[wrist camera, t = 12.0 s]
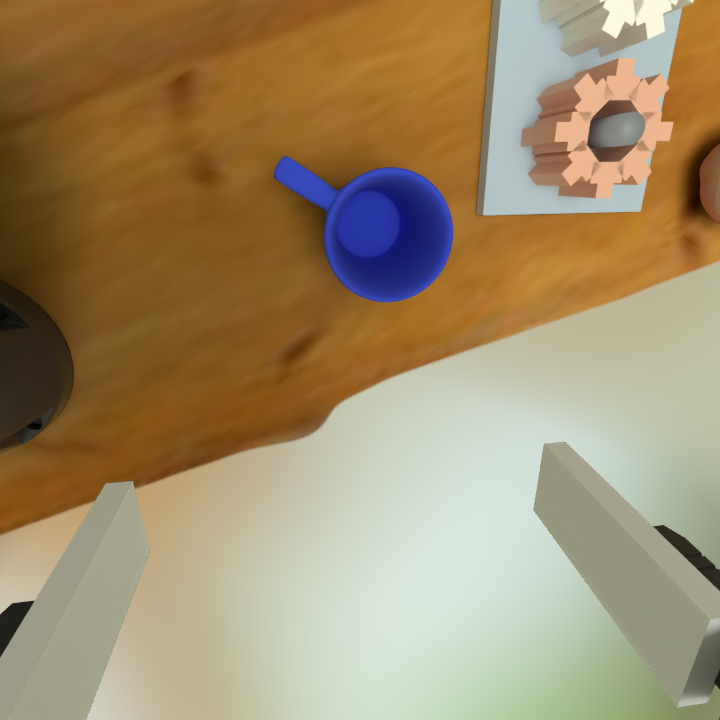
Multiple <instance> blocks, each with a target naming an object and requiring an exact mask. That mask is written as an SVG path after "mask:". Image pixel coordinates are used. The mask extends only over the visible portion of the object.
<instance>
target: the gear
mask: <svg viewBox="0 0 720 720" xmlns="http://www.w3.org/2000/svg"><path fill="white" fill-rule="evenodd" d="M693 1H694V0H545V1H543V2H542V3H540V4H539V10H540V15H541V20H542V24H543V23H545V22H548V21H550V20H552V19H554V18H555V19H556V24H557V27H559V26H561V25H562V27H561V29H560V31H561V32H562V33H564V34H566V36H565V39H564V41H563V43H562V45H561V47H560V49H559V50H561V51H562V52H564V53H566V54H568V55H569V56H571V57H575V56H577V55H579V54H582V53H584V52H586V51H589V50H591V49H593V48H596V47H598V50H599V56H600V58H601V57H603V56H606V55H609V54H611V53H614V52H616V51H619V50H621V49H624V48H627V47H629V46H632V45H634V44H637V43H640V42H642V41H645V40H647V39H649V38H652V37H654V36H656V35H658V34H660V33H662V32H664V31H665V27H664V19H663V16H664V15H666V14H668V13H671V12H673V11H675V10H677V9H680V8H682V7H684V6H687V5H689V4H691V3H693Z"/></svg>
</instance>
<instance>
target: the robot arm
mask: <svg viewBox="0 0 720 720" xmlns="http://www.w3.org/2000/svg"><path fill="white" fill-rule="evenodd" d="M72 382H73V367H72V361H71V356H70V353H69V350H68V347H67V345H66V342H65V340H64V338H63V336H62V335H61V333H60V331H59V330H58V328H57V327H56V325H55V324H54V323H53V321H52V320H51V319H50V318H49V317H48V315H47V314H46V313H45V312H44V311H43V310H42V309H41V308H40V307H39V306H38V305H36V304H35V303H34V302H33V301H32V300H30V299H29V298H28V297H26V296H25V295H24V294H22V293H21V292H19V291H17V290H16V289H14V288H12V287H11V286H9V285H7V284H5V283H3V282H0V454H1V453H3V452H6V451H8V450H11V449H14V448H16V447H18V446H21V445H23V444H24V443H26V442H28V441H30V440H31V439H33V438H34V437H36V436H37V435H38V434H40V433H41V432H42V431H43V430H44V429H45V428H46V427H47V426H48V425H49V424H50V423H51V422H52V421H53V420H54V419H55V418H56V417H57V416H58V415H59V413H60V412H61V411H62V409H63V408H64V406H65V404H66V403H67V400H68V398H69V395H70V392H71V388H72ZM534 511H535V513H536V514H537V516H538V517H539V518H540V520H541V521H542V522H543V524H544V525H545V527H546V528H547V529H548V531H549V532H550V533H551V535H552V536H553V538H554V539H555V540H556V542H557V543H558V544H559V546H560V547H561V548H562V550H563V551H564V552H565V554H566V555H567V557H568V558H569V560H570V561H571V562H572V564H573V565H574V566H575V568H576V569H577V571H578V572H579V573H580V575H581V576H582V577H583V579H584V580H585V582H586V583H587V584H588V586H589V587H590V589H591V590H592V591H593V593H594V594H595V595H596V597H597V598H598V599H599V601H600V602H601V604H602V605H603V606H604V608H605V609H606V610H607V612H608V613H609V615H610V616H611V617H612V619H613V620H614V622H615V623H616V624H617V626H618V627H619V628H620V630H621V631H622V633H623V634H624V635H625V637H626V638H627V639H628V641H629V642H630V644H631V645H632V646H633V648H634V649H635V650H636V652H637V653H638V655H639V656H640V657H641V659H642V660H643V661H644V663H645V664H646V665H647V667H648V668H649V670H650V671H651V673H652V674H653V675H654V677H655V678H656V679H657V681H658V682H659V684H660V685H661V686H662V688H663V689H664V690H665V692H666V693H667V695H668V696H669V697H670V699H671V700H672V701H673V703H674V704H675V705H676V707H683V706H689V705H695V704H700V703H706V702H708V700H709V697H710V695H711V692H712V690H713V688H714V685H715V684H716V685H717V687H718V688H719V689H720V570H719V569H716V568H715V565H714V564H713V563H711V562H710V561H709V560H708V559H707V558H706V557H705V556H702V554H701V552H700V551H699V550H697V549H696V548H695V547H694V546H693V545H692V544H691V543H690V542H689V541H688V540H687V539H685V538H684V537H682V536H681V535H679V534H677V533H676V532H674V531H672V530H671V529H669V528H667V527H666V526H664V525H661V526H651V524H650V523H649V522H648V521H647V520H646V519H645V518H644V517H642V516H641V515H640V514H639V513H638V512H637V511H636V510H635V509H634V508H633V507H632V506H631V505H630V504H629V503H628V502H627V501H626V500H625V499H624V498H623V497H622V496H621V495H620V494H619V493H618V492H617V491H616V490H614V489H613V487H611V486H610V485H609V484H608V483H607V482H606V481H605V480H604V479H603V478H602V477H601V476H600V475H599V474H598V473H597V472H596V471H595V470H594V469H593V468H592V467H591V466H590V465H589V464H588V463H587V462H586V461H584V459H583V458H581V457H580V456H579V455H578V454H577V453H576V452H575V451H574V450H573V449H572V448H571V447H570V446H569V445H568V444H567V443H566V442H558V443H548V444H544V447H543V453H542V460H541V466H540V472H539V478H538V485H537V491H536V498H535V504H534ZM149 553H150V551H149V547H148V543H147V538H146V535H145V530H144V526H143V521H142V517H141V513H140V509H139V505H138V501H137V496H136V492H135V488H134V484H133V481H129V482H118V483H107V484H105V486H104V488H103V489H102V491H101V493H100V494H99V496H98V497H97V499H96V501H95V502H94V504H93V506H92V507H91V509H90V511H89V512H88V514H87V516H86V517H85V519H84V521H83V522H82V524H81V525H80V527H79V529H78V530H77V532H76V534H75V535H74V537H73V539H72V540H71V542H70V544H69V545H68V547H67V549H66V550H65V552H64V554H63V555H62V557H61V559H60V560H59V562H58V564H57V565H56V567H55V568H54V570H53V572H52V573H51V575H50V577H49V578H48V580H47V582H46V583H45V585H44V587H43V588H42V590H41V592H40V593H39V595H38V596H37V598H36V600H35V601H28V602H19V603H13V604H11V605H10V606H9V607H8V608H7V609H6V610H5V611H3V612H2V613H1V614H0V720H86V719H87V716H88V714H89V711H90V708H91V705H92V703H93V700H94V698H95V695H96V692H97V690H98V687H99V685H100V682H101V679H102V677H103V674H104V671H105V669H106V666H107V663H108V661H109V658H110V655H111V653H112V650H113V648H114V645H115V642H116V640H117V637H118V634H119V632H120V629H121V626H122V624H123V621H124V618H125V616H126V613H127V611H128V608H129V605H130V603H131V600H132V598H133V595H134V592H135V590H136V587H137V584H138V582H139V579H140V576H141V574H142V571H143V568H144V566H145V563H146V560H147V558H148V555H149ZM719 720H720V718H719Z"/></svg>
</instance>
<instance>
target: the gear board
mask: <svg viewBox="0 0 720 720" xmlns="http://www.w3.org/2000/svg"><path fill="white" fill-rule="evenodd" d="M543 1H545V0H493V5H492V18H491V30H490V43H489V56H488V69H487V82H486V95H485V108H484V120H483V133H482V146H481V159H480V172H479V185H478V198H477V210H476V214H479V215H517V214H557V213H596V212H635V211H641V206H642V201H643V197H644V192H645V187H646V182H647V178H646V179H645V180H644V181H642V182H641V183H640V184H639V185H613V188H612V194H611V198H584V197H570V196H558V193H559V186H545V185H536V184H535V183H534V182H533V180H532V179H531V178H530V176H529V175H528V173H529V172H530V171H531V170H532V169H533V168H534V167H535V166H536V165H537V163H536V162H535V161H534V159H533V158H534V157H535V156H536V155H532V148H533V146H521V138H522V129H525V128H530V127H535V122H536V120H539V117H538V115H539V114H540V113H541V112H542V111H543V108H542V107H541V105H540V104H539V103H538V101H537V100H536V99H537V98H538V97H539V96H540V95H541V94H542V93H543V91H544V90H545V89H546V88H547V87H548V86H551V85H554V84H557V83H560V82H562V81H565V80H568V79H571V78H574V77H575V74H576V73H579V72H582V71H584V70H587V69H590V68H593V67H595V66H598V65H601V64H604V63H606V62H609V61H612V60H615V59H617V58H636V60H635V66H634V71H633V76H641V79H643V78H647V77H650V76H654V75H658V74H662V76H663V78H664V80H665V81H666V83H667V79H668V75H669V70H670V65H671V60H672V55H673V50H674V45H675V40H676V36H677V31H678V26H679V21H680V16H681V11H682V8H680V9H677V10H675V11H673V12H671V13H668V14H666V15H664V16H663V19H664V27H665V31H664V32H662V33H660V34H658V35H656V36H654V37H652V38H649V39H647V40H645V41H642V42H640V43H637V44H634V45H632V46H629V47H627V48H624V49H621V50H619V51H616V52H614V53H611V54H609V55H606V56H603V57H601V58H600V56H599V50H598V47H596V48H593V49H591V50H589V51H586V52H584V53H582V54H579V55H577V56H575V57H571V56H569V55H568V54H566V53H564V52H562V51H561V50H559V49H560V47H561V45H562V43H563V41H564V39H565V36H566V34H564V33H562V32H561V31H560V29H561V27H562V25H561V26H559V27H557V24H556V19H555V18H554V19H552V20H550V21H548V22H545V23H543V24H542V20H541V15H540V10H539V4H540V3H542V2H543ZM664 94H665V93H664ZM664 94H663V95H662V96H661V97H660V98H659V99H658V102H659V103H660V105H661V107H662V104H663V99H664ZM661 109H662V108H661ZM661 109H660V110H659V111H658V112H661ZM644 130H645V119H644V117H643V116H642V114H640V113H639V112H635V111H633V112H628V113H622V114H617V115H612V116H607V117H602V118H596V119H592V118H591V121H590V127H589V134H588V140H587V145H588V147H589V148H590V150H591V151H592V150H593V149H596V148H607V147H617V146H628V145H633V144H635V143H636V142H638V141H639V140H640V138H641V137H642V135H643V133H644ZM650 153H651V154H652V153H653V151H650ZM651 158H652V156H650V157H649V158H648V159H647V160H646V161H645V162H646V164H647V165H648V167H650V162H651Z"/></svg>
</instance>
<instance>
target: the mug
mask: <svg viewBox="0 0 720 720" xmlns="http://www.w3.org/2000/svg"><path fill="white" fill-rule="evenodd" d="M274 178H275V179H276V180H277V181H279V182H280V183H282V184H283V185H285V186H286V187H288V188H290V189H291V190H293V191H294V192H296V193H297V194H299V195H301V196H302V197H304V198H305V199H307V200H309V201H311V202H312V203H314V204H316V205H317V206H319V207H321V208H322V209H324V210H325V211H326V215H325V229H324V245H325V251H326V255H327V259H328V262H329V264H330V266H331V268H332V270H333V272H334V273H335V275H336V276H337V278H338V279H339V280H340V282H341V283H342V284H343V285H344V286H345V287H347V288H348V289H349V290H350V291H352V292H353V293H355V294H357V295H359V296H361V297H363V298H365V299H369V300H372V301H377V302H395V301H400V300H404V299H407V298H410V297H412V296H414V295H416V294H418V293H420V292H421V291H423V290H424V289H425V288H427V287H428V286H429V285H430V284H431V283H432V282H433V281H434V280H435V279H436V278H437V277H438V275H439V274H440V272H441V271H442V269H443V268H444V266H445V264H446V262H447V259H448V257H449V254H450V251H451V247H452V240H453V224H452V218H451V214H450V211H449V208H448V205H447V203H446V201H445V199H444V197H443V196H442V194H441V193H440V192H439V190H438V189H437V188H436V187H435V186H434V185H433V184H432V183H431V182H430V181H429V180H427V179H426V178H424V177H423V176H421V175H419V174H417V173H415V172H413V171H410V170H407V169H403V168H394V167H388V168H379V169H375V170H372V171H369V172H366V173H364V174H362V175H360V176H358V177H357V178H355V179H354V180H352V181H351V182H349V183H348V184H347V185H345V186H344V187H342V188H341V189H339V190H336V189H334V188H333V187H331V186H330V185H329V184H327V183H326V182H325V181H323V180H322V179H320V178H319V177H318V176H316V175H315V174H313V173H312V172H310V171H309V170H307V169H306V168H305V167H303V166H302V165H300V164H299V163H297V162H295V161H294V160H292V159H291V158H289V157H287V156H284V157H283V158H281V159H280V161H279V162H278V164H277V166H276V168H275V170H274Z"/></svg>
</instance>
